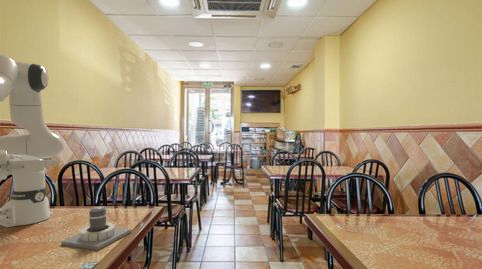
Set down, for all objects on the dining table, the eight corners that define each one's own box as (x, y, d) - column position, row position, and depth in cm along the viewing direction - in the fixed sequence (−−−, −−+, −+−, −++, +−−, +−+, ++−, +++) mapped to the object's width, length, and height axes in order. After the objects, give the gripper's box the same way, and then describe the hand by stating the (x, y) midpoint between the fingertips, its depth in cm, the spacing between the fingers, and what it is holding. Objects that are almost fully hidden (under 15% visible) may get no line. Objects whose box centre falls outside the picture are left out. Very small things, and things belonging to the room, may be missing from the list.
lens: (85, 237, 93) (85, 209, 93) (98, 231, 99) (98, 205, 99) (97, 238, 92) (97, 210, 92) (109, 232, 97) (109, 206, 97)
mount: (61, 244, 90) (61, 234, 90) (98, 228, 105) (98, 219, 105) (97, 250, 85) (97, 239, 85) (131, 232, 101) (131, 222, 100)
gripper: (2, 156, 69) (63, 153, 79) (-6, 152, 83) (46, 150, 93) (2, 180, 69) (63, 174, 79) (-6, 172, 83) (46, 167, 93)
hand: (54, 161), depth 86 cm, fingers open, 8 cm apart
